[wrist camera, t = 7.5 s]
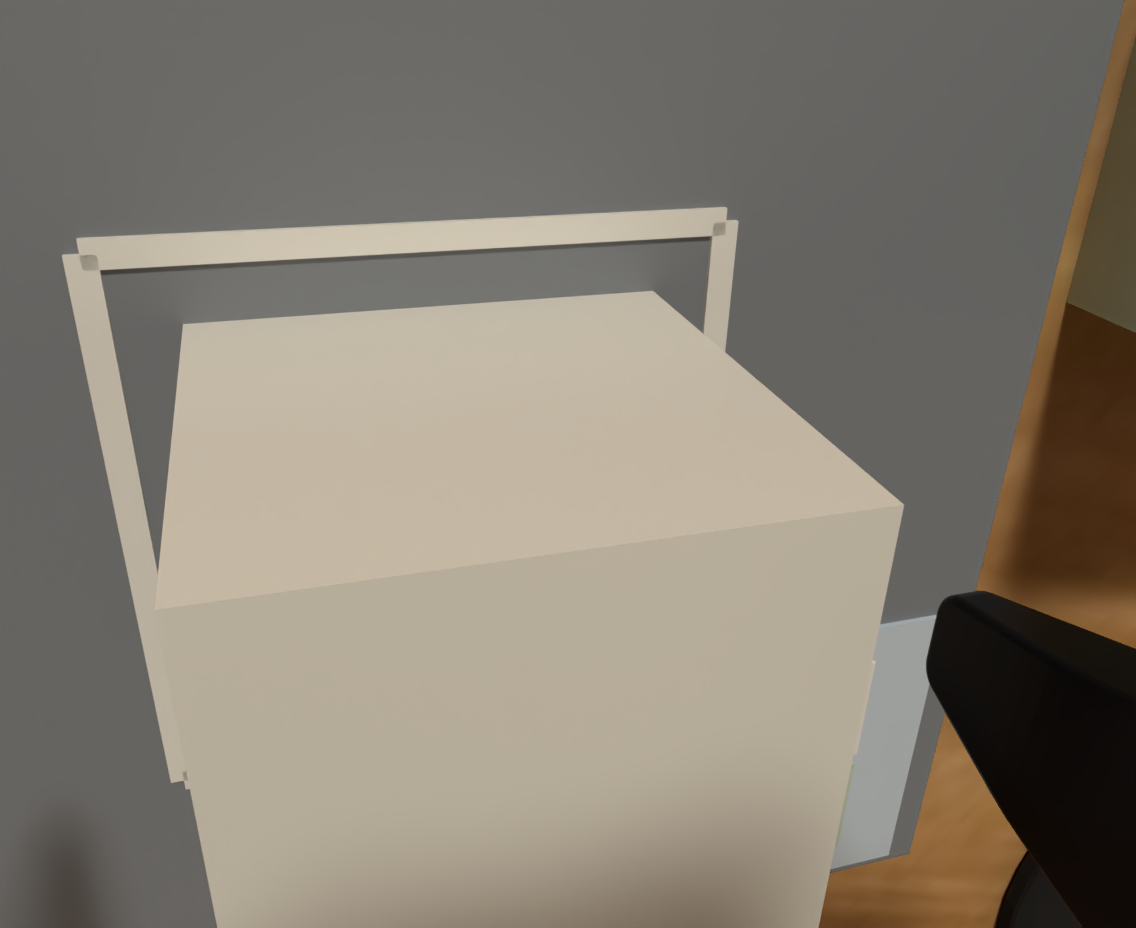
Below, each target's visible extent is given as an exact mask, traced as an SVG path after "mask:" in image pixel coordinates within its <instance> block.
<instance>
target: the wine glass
mask: <svg viewBox="0 0 1136 928" xmlns="http://www.w3.org/2000/svg"><path fill="white" fill-rule="evenodd" d="M998 928H1082V927H1081V925H1080V924H1079V923H1078V921H1077V920H1076V918H1075V917H1074V915H1073V914H1072V913H1071V911H1070V910H1069V908H1068V907H1067V905H1066V904H1065V903H1064V901H1063V900H1062V898H1061V897H1060V895H1059V894H1058V893H1057V891H1056V890H1055V888H1054V887H1053V885H1052V884H1051V883H1050V881H1049V880H1048V878H1047V877H1046V875H1045V874H1044V873H1043V871H1042V870H1041V868H1040V867H1039V865H1038V864H1037V863H1036V861H1035V860H1034V858H1033V857H1032V855H1031V854H1030V853H1028V854H1027V856H1026V857H1025V859H1024V861H1023V862H1022V864H1021V865H1020V867H1019V869H1018V871H1017V873H1016V875H1015V877H1014V880H1013V882H1012V884H1011V886H1010V888H1009V890H1008V892H1007V894H1006V897H1005V901H1004V904H1003V908H1002V911H1001V915H1000V918H999V922H998Z"/></svg>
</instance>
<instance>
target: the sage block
mask: <svg viewBox="0 0 1136 928" xmlns="http://www.w3.org/2000/svg"><path fill="white" fill-rule="evenodd" d="M1066 302H1067V303H1069V304H1072V305H1074V306H1076V307H1078V308H1081V309H1083V310H1085V311H1087V312H1090V313H1092V314H1094V315H1096V316H1099V317H1101V318H1103V319H1105V320H1108V321H1110V322H1112V323H1114V324H1117V325H1119V326H1121V327H1123V328H1126V329H1128V330H1130V331H1132V332H1135V333H1136V38H1135V42H1134V46H1133V49H1132V53H1131V57H1130V61H1129V65H1128V68H1127V72H1126V76H1125V80H1124V84H1123V87H1122V91H1121V95H1120V99H1119V103H1118V107H1117V110H1116V114H1115V118H1114V122H1113V126H1112V129H1111V133H1110V137H1109V141H1108V145H1107V148H1106V152H1105V156H1104V160H1103V164H1102V168H1101V171H1100V175H1099V179H1098V183H1097V187H1096V190H1095V194H1094V198H1093V202H1092V206H1091V209H1090V213H1089V217H1088V221H1087V225H1086V228H1085V232H1084V236H1083V240H1082V244H1081V248H1080V251H1079V255H1078V259H1077V263H1076V267H1075V270H1074V274H1073V278H1072V282H1071V286H1070V289H1069V293H1068V297H1067V301H1066Z"/></svg>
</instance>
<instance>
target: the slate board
mask: <svg viewBox="0 0 1136 928" xmlns="http://www.w3.org/2000/svg"><path fill="white" fill-rule="evenodd" d="M1123 3H1124V0H0V928H217V924H216V919H215V914H214V909H213V904H212V898H211V893H210V888H209V883H208V878H207V873H206V868H205V863H204V858H203V853H202V848H201V843H200V838H199V833H198V828H197V823H196V818H195V813H194V808H193V802H192V797H191V792H190V787H189V782H188V777H187V772H186V767H185V762H184V757H183V752H182V747H181V742H180V737H179V732H178V727H177V722H176V717H175V712H174V706H173V701H172V696H171V691H170V686H169V681H168V676H167V671H166V666H165V661H164V656H163V651H162V646H161V641H160V636H159V631H158V626H157V621H156V616H155V610H154V609H155V599H156V589H157V579H158V569H159V559H160V549H161V539H162V529H163V519H164V509H165V499H166V489H167V479H168V469H169V459H170V449H171V439H172V429H173V419H174V409H175V399H176V389H177V379H178V369H179V359H180V349H181V339H182V329H183V324H192V323H206V322H220V321H234V320H249V319H263V318H277V317H291V316H305V315H319V314H333V313H347V312H361V311H375V310H389V309H404V308H418V307H432V306H446V305H460V304H474V303H488V302H502V301H516V300H530V299H544V298H558V297H573V296H587V295H601V294H615V293H629V292H643V291H654V292H655V293H656V294H657V295H658V296H660V297H661V298H662V299H663V300H664V301H666V302H667V303H668V304H669V305H670V306H671V307H673V308H674V309H675V310H676V311H677V312H678V313H680V314H681V315H682V316H683V317H684V318H685V319H687V320H688V321H689V322H690V323H691V324H693V325H694V326H695V327H696V328H697V329H698V330H700V331H701V332H702V333H703V334H704V335H705V336H707V337H708V338H709V339H710V340H711V341H712V342H714V343H715V344H716V345H717V346H718V347H720V348H721V349H722V350H723V351H724V352H725V353H727V354H728V355H729V356H730V357H731V358H732V359H734V360H735V361H736V362H737V363H738V364H740V365H741V366H742V367H743V368H744V369H745V370H747V371H748V372H749V373H750V374H751V375H752V376H754V377H755V378H756V379H757V380H758V381H759V382H761V383H762V384H763V385H764V386H765V387H767V388H768V389H769V390H770V391H771V392H772V393H774V394H775V395H776V396H777V397H778V398H779V399H781V400H782V401H783V402H784V403H785V404H786V405H788V406H789V407H790V408H791V409H792V410H794V411H795V412H796V413H797V414H798V415H799V416H801V417H802V418H803V419H804V420H805V421H806V422H808V423H809V424H810V425H811V426H812V427H813V428H815V429H816V430H817V431H818V432H819V433H821V434H822V435H823V436H824V437H825V438H826V439H828V440H829V441H830V442H831V443H832V444H833V445H835V446H836V447H837V448H838V449H839V450H840V451H842V452H843V453H844V454H845V455H846V456H848V457H849V458H850V459H851V460H852V461H853V462H855V463H856V464H857V465H858V466H859V467H860V468H862V469H863V470H864V471H865V472H866V473H868V474H869V475H870V476H871V477H872V478H873V479H875V480H876V481H877V482H878V483H879V484H880V485H882V486H883V487H884V488H885V489H886V490H887V491H889V492H890V493H891V494H892V495H893V496H895V497H896V498H897V499H898V500H899V501H900V502H902V503H903V504H904V509H903V513H902V518H901V523H900V528H899V533H898V538H897V543H896V548H895V553H894V558H893V563H892V568H891V573H890V578H889V582H888V587H887V592H886V597H885V602H884V607H883V612H882V617H881V622H880V627H879V632H878V637H877V642H876V647H875V651H874V656H873V661H872V666H871V671H870V676H869V681H868V686H867V691H866V696H865V701H864V706H863V711H862V716H861V720H860V725H859V730H858V735H857V740H856V745H855V750H854V755H853V760H852V765H851V770H850V775H849V780H848V785H847V789H846V794H845V799H844V804H843V809H842V814H841V819H840V824H839V829H838V834H837V839H836V844H835V849H834V854H833V859H832V863H831V868H830V873H832V872H836V871H840V870H844V869H849V868H853V867H857V866H861V865H865V864H869V863H873V862H877V861H881V860H885V859H890V858H894V857H898V856H902V855H906V854H909V852H910V848H911V844H912V840H913V836H914V832H915V829H916V825H917V821H918V817H919V813H920V809H921V805H922V801H923V797H924V793H925V789H926V785H927V781H928V777H929V773H930V769H931V765H932V761H933V757H934V753H935V749H936V745H937V741H938V737H939V733H940V729H941V725H942V721H943V717H944V713H945V711H944V710H943V708H942V706H941V704H940V702H939V701H938V699H937V697H936V695H935V694H934V692H933V690H932V688H931V686H930V684H929V681H928V678H927V673H926V658H927V654H928V649H929V645H930V641H931V636H932V632H933V628H934V624H935V619H936V615H937V611H938V608H939V605H940V604H941V602H942V601H943V600H944V599H945V598H946V597H948V596H950V595H955V594H961V593H967V592H973V591H975V590H976V586H977V582H978V578H979V574H980V570H981V567H982V563H983V559H984V555H985V551H986V547H987V543H988V539H989V535H990V531H991V527H992V523H993V519H994V515H995V511H996V507H997V503H998V499H999V495H1000V491H1001V487H1002V483H1003V479H1004V475H1005V471H1006V467H1007V463H1008V459H1009V455H1010V451H1011V447H1012V443H1013V439H1014V436H1015V432H1016V428H1017V424H1018V420H1019V416H1020V412H1021V408H1022V404H1023V400H1024V396H1025V392H1026V388H1027V384H1028V380H1029V376H1030V372H1031V368H1032V364H1033V360H1034V356H1035V352H1036V348H1037V344H1038V340H1039V336H1040V332H1041V328H1042V324H1043V320H1044V316H1045V312H1046V308H1047V305H1048V301H1049V297H1050V293H1051V289H1052V285H1053V281H1054V277H1055V273H1056V269H1057V265H1058V261H1059V257H1060V253H1061V249H1062V245H1063V241H1064V237H1065V233H1066V229H1067V225H1068V221H1069V217H1070V213H1071V209H1072V205H1073V201H1074V197H1075V193H1076V189H1077V185H1078V181H1079V177H1080V174H1081V170H1082V166H1083V162H1084V158H1085V154H1086V150H1087V146H1088V142H1089V138H1090V134H1091V130H1092V126H1093V122H1094V118H1095V114H1096V110H1097V106H1098V102H1099V98H1100V94H1101V90H1102V86H1103V82H1104V78H1105V74H1106V70H1107V66H1108V62H1109V58H1110V54H1111V50H1112V46H1113V43H1114V39H1115V35H1116V31H1117V27H1118V23H1119V19H1120V15H1121V11H1122V7H1123Z"/></svg>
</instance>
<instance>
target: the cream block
mask: <svg viewBox="0 0 1136 928" xmlns="http://www.w3.org/2000/svg"><path fill="white" fill-rule="evenodd" d="M903 509H904V504H903V503H902V502H900V501H899V500H898V499H897V498H896V497H895V496H893V495H892V494H891V493H890V492H889V491H887V490H886V489H885V488H884V487H883V486H882V485H880V484H879V483H878V482H877V481H876V480H875V479H873V478H872V477H871V476H870V475H869V474H868V473H866V472H865V471H864V470H863V469H862V468H860V467H859V466H858V465H857V464H856V463H855V462H853V461H852V460H851V459H850V458H849V457H848V456H846V455H845V454H844V453H843V452H842V451H840V450H839V449H838V448H837V447H836V446H835V445H833V444H832V443H831V442H830V441H829V440H828V439H826V438H825V437H824V436H823V435H822V434H821V433H819V432H818V431H817V430H816V429H815V428H813V427H812V426H811V425H810V424H809V423H808V422H806V421H805V420H804V419H803V418H802V417H801V416H799V415H798V414H797V413H796V412H795V411H794V410H792V409H791V408H790V407H789V406H788V405H786V404H785V403H784V402H783V401H782V400H781V399H779V398H778V397H777V396H776V395H775V394H774V393H772V392H771V391H770V390H769V389H768V388H767V387H765V386H764V385H763V384H762V383H761V382H759V381H758V380H757V379H756V378H755V377H754V376H752V375H751V374H750V373H749V372H748V371H747V370H745V369H744V368H743V367H742V366H741V365H740V364H738V363H737V362H736V361H735V360H734V359H732V358H731V357H730V356H729V355H728V354H727V353H725V352H724V351H723V350H722V349H721V348H720V347H718V346H717V345H716V344H715V343H714V342H712V341H711V340H710V339H709V338H708V337H707V336H705V335H704V334H703V333H702V332H701V331H700V330H698V329H697V328H696V327H695V326H694V325H693V324H691V323H690V322H689V321H688V320H687V319H685V318H684V317H683V316H682V315H681V314H680V313H678V312H677V311H676V310H675V309H674V308H673V307H671V306H670V305H669V304H668V303H667V302H666V301H664V300H663V299H662V298H661V297H660V296H658V295H657V294H656V293H655V292H654V291H643V292H629V293H615V294H601V295H587V296H573V297H558V298H544V299H530V300H516V301H502V302H488V303H474V304H460V305H446V306H432V307H418V308H404V309H389V310H375V311H361V312H347V313H333V314H319V315H305V316H291V317H277V318H263V319H249V320H234V321H220V322H206V323H192V324H183V329H182V339H181V349H180V359H179V369H178V379H177V389H176V399H175V409H174V419H173V429H172V439H171V449H170V459H169V469H168V479H167V489H166V499H165V509H164V519H163V529H162V539H161V549H160V559H159V569H158V579H157V589H156V599H155V609H154V610H155V616H156V621H157V626H158V631H159V636H160V641H161V646H162V651H163V656H164V661H165V666H166V671H167V676H168V681H169V686H170V691H171V696H172V701H173V706H174V712H175V717H176V722H177V727H178V732H179V737H180V742H181V747H182V752H183V757H184V762H185V767H186V772H187V777H188V782H189V787H190V792H191V797H192V802H193V808H194V813H195V818H196V823H197V828H198V833H199V838H200V843H201V848H202V853H203V858H204V863H205V868H206V873H207V878H208V883H209V888H210V893H211V898H212V904H213V909H214V914H215V919H216V924H217V928H819V923H820V918H821V913H822V908H823V903H824V898H825V893H826V888H827V883H828V878H829V873H830V868H831V863H832V859H833V854H834V849H835V844H836V839H837V834H838V829H839V824H840V819H841V814H842V809H843V804H844V799H845V794H846V789H847V785H848V780H849V775H850V770H851V765H852V760H853V755H854V750H855V745H856V740H857V735H858V730H859V725H860V720H861V716H862V711H863V706H864V701H865V696H866V691H867V686H868V681H869V676H870V671H871V666H872V661H873V656H874V651H875V647H876V642H877V637H878V632H879V627H880V622H881V617H882V612H883V607H884V602H885V597H886V592H887V587H888V582H889V578H890V573H891V568H892V563H893V558H894V553H895V548H896V543H897V538H898V533H899V528H900V523H901V518H902V513H903Z"/></svg>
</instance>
